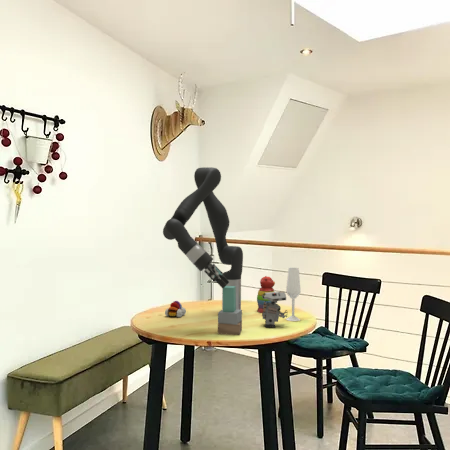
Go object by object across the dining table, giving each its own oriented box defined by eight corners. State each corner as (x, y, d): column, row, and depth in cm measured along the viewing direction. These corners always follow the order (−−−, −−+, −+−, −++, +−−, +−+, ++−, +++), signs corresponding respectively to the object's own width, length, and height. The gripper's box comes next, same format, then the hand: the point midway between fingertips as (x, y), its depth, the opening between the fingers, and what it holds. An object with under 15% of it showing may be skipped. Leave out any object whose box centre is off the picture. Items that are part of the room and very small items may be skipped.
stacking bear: (276, 314, 234) (276, 278, 234) (255, 313, 236) (256, 277, 235) (277, 309, 245) (277, 275, 244) (257, 309, 246) (258, 274, 246)
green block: (225, 309, 201) (224, 285, 201) (236, 309, 200) (235, 286, 200) (222, 311, 196) (222, 287, 196) (233, 312, 195) (233, 287, 195)
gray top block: (223, 319, 203) (223, 308, 203) (241, 320, 201) (241, 309, 201) (218, 323, 195) (218, 312, 195) (236, 324, 193) (236, 313, 193)
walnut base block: (220, 329, 203) (220, 319, 203) (241, 330, 202) (241, 319, 202) (217, 334, 194) (217, 323, 194) (239, 335, 193) (239, 324, 193)
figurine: (288, 328, 205) (288, 293, 204) (261, 327, 206) (262, 293, 205) (287, 323, 214) (287, 290, 214) (261, 323, 215) (262, 289, 214)
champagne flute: (283, 319, 222) (283, 268, 222) (290, 317, 227) (291, 267, 227) (295, 321, 218) (295, 269, 217) (303, 319, 223) (303, 268, 222)
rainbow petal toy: (163, 317, 225) (163, 302, 225) (171, 313, 234) (171, 298, 234) (179, 318, 223) (179, 303, 223) (187, 314, 232) (187, 299, 232)
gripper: (202, 252, 192) (230, 281, 191) (208, 249, 206) (234, 276, 205) (189, 265, 193) (217, 294, 192) (196, 261, 207) (222, 288, 206)
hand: (226, 285), depth 198 cm, fingers open, 8 cm apart
